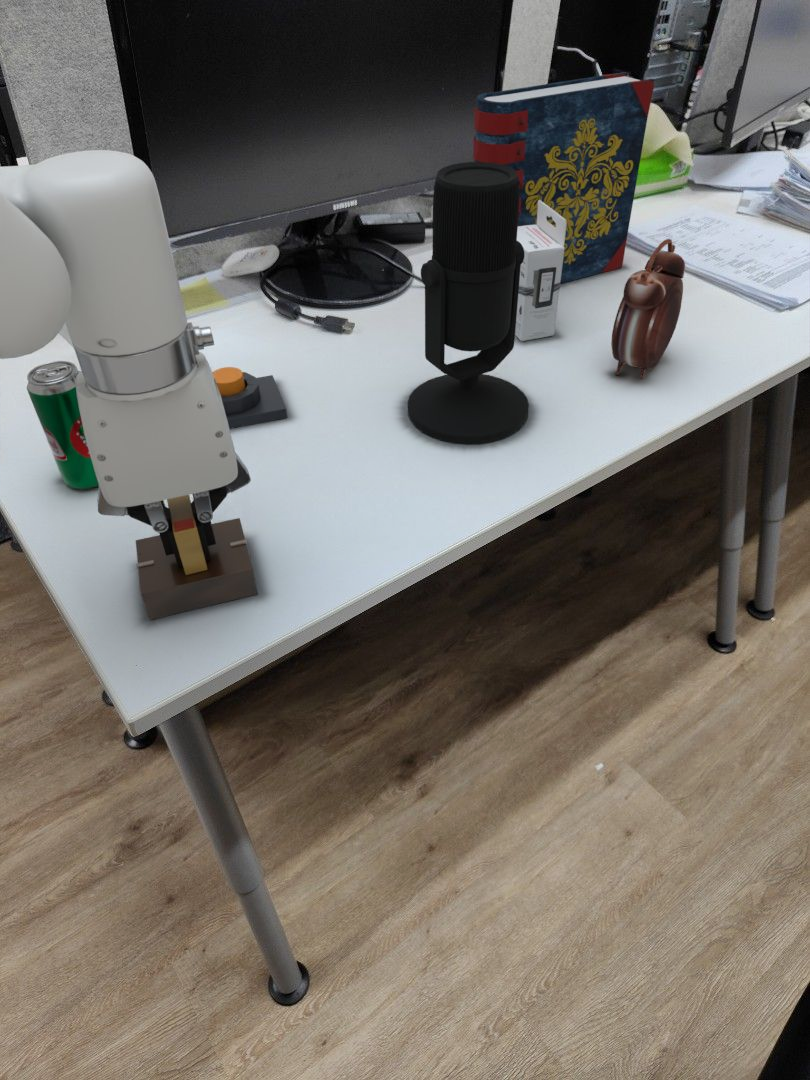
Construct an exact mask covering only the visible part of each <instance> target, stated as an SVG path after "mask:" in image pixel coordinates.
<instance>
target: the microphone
mask: <svg viewBox="0 0 810 1080" xmlns="http://www.w3.org/2000/svg"><path fill="white" fill-rule="evenodd" d="M518 215H519V179H518V175H517V172H516V171H515V170H514V169H513V168H511V167H508V166H505V165H501V164H496V163H488V162H475V161H469V162H468V161H467V162H459V163H453V164H450V165H446V166H444V167H442V168H440V169H439V170H438V171H437V173H436V176H435V179H434V185H433V196H432V255H431V259H428V260H427V261H426V262H424V263H423V264H422V266H421V268H420V278H421V281H422V283H423V285H424V356H425V360H426V361H427V362H429V363H430V364H431V365H432V366H434V367H435V368H437V369H438V370H439V371H440V372H442V373H443V374H444V375H443V374H442V375H440V376H436V377H434V378H431V379H428V380H426V381H424V382H422V383H421V384H419V385H418V386H416V388H415V389H413V391H412V392H411V393H410V395H409V396H408V400H407V416H408V418H409V420H410V422H411V424H413V425H414V427H415V428H416V429H418V430H419V431H420V432H422V433H423V434H425V435H427V436H429V437H430V438H433V439H436V440H439V441H442V442H446V443H447V442H448V443H451V444H460V445H480V444H486V443H487V444H488V443H493V442H496V441H500V440H503V439H505V438H508V437H510V436H512V435H514V434H515V433H517V432H518V431H519V430H520V429H521V428H523V426H524V425H525V424H526V422H527V420H528V417H529V408H530V404H529V400H528V397H527V396H526V394H525V393H524V392H523V391H522V389H520V388H519V387H518V386H516V385H515V384H513V383H511V382H510V381H507V380H506V379H503V378H502V377H501V378H500V377H497V376H495V375H490V374H487V373H490V372H492V371H494V370H495V369H497V367H498V366H499V365H500V364H501V363H502V362H503V361H504V360H505V359H506V357H507V356H508V355H509V354H510V353H511V352H512V351H513V349H514V347H515V341H516V335H515V329H516V316H517V304H518V292H519V280H520V267H521V264H522V263H523V260H524V248H523V246H522V244H521V243H520V242H519V241H517V229H518ZM445 346H447V347H449V348H452V349H453V350H458V351H460V352H461V351H462V352H478V353H477V354H476V355H473V356H469V357H467V358H463V359H460V360H457V361H454V362H449V363H445V355H446V354H445V353H446V351H445V349H446V348H445Z"/></svg>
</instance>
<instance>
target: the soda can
mask: <svg viewBox="0 0 810 1080" xmlns="http://www.w3.org/2000/svg"><path fill="white" fill-rule="evenodd" d="M79 372H81V370H79V369H78V367H77V366H76V364H75V363H73V362H71V361H67V360H53V361H49V362H45V363H42V364H39V365H37V366H35V367H34V368H32V369H31V370H30V371H29V372H28V373H27V375H26V377H27V381H28V382H27V385H26V390H27V393H28V395H29V398H30V401H31V403H32V405H33V408H34V411H35V414H36V416H37V418H38V421H39V423H40V426H41V429H42V431H43V433H44V436H45V439H46V441H47V443H48V446H49V448H50V451H51V454H52V456H53V459H54V461H55V464H56V466H57V469H58V471H59V474H60V476H61V479H62V482H63V483H64V484H65V485H67V486H69V487H70V488H73V489H77V490H91V489H95V488H97V487H98V488H99V483H98V480H97V477H96V474H95V470H94V467H93V463H92V460H91V456H90V453H89V449H88V445H87V441H86V438H85V433H84V429H83V425H82V420H81V415H80V411H79V405H78V399H77V392H76V376H77V375H78V373H79Z"/></svg>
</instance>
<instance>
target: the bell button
mask: <svg viewBox="0 0 810 1080" xmlns="http://www.w3.org/2000/svg"><path fill="white" fill-rule="evenodd" d="M212 372H213V375H214V378H215V380H216V383H217V386H218V389H219V392H220V395H223V396H229V395H234V394H238V393H239V392H241V391H243V390H244V389H245V383H244V377H243V372H244V371H242V370H241V369H240V368H238V367H233V366H225V367H220V368H218V369H216V370H213V371H212Z"/></svg>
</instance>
